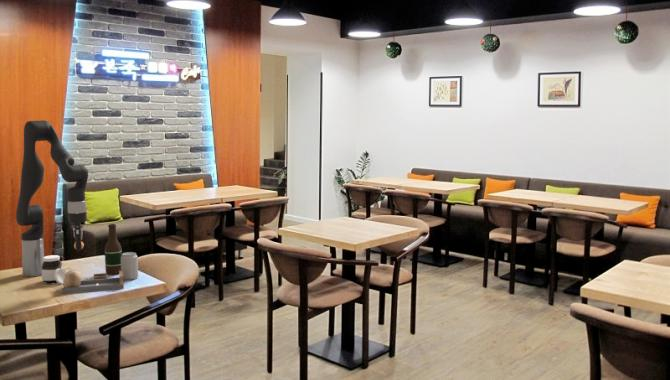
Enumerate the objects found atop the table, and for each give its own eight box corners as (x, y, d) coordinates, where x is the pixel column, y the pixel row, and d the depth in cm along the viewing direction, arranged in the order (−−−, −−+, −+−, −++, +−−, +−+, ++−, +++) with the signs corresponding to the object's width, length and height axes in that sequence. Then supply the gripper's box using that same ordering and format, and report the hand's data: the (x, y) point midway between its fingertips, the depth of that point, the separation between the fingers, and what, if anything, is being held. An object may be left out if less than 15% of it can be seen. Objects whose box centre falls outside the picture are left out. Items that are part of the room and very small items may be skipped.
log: (63, 291, 269) (62, 275, 268) (65, 286, 277) (64, 270, 276) (81, 289, 271) (80, 274, 270) (82, 284, 279) (81, 269, 278)
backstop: (119, 288, 275) (119, 276, 275) (119, 282, 286) (119, 270, 285) (123, 288, 276) (123, 276, 275) (123, 281, 286) (122, 269, 285)
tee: (93, 283, 283) (92, 277, 282) (93, 280, 288) (93, 274, 288) (107, 282, 285) (106, 276, 284) (107, 279, 290) (107, 273, 290)
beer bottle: (126, 272, 302) (124, 223, 299) (112, 276, 296) (110, 226, 293) (115, 270, 307) (113, 222, 304) (102, 273, 300) (99, 224, 297)
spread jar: (48, 279, 291) (46, 254, 289) (73, 278, 292) (71, 254, 291) (38, 286, 279) (37, 260, 278) (64, 285, 280) (63, 260, 279)
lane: (62, 293, 268) (61, 288, 267) (64, 286, 278) (63, 282, 278) (119, 288, 275) (119, 283, 275) (119, 282, 286) (119, 277, 285)
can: (133, 280, 288) (132, 255, 286) (118, 280, 289) (117, 254, 288) (141, 276, 295) (140, 251, 294) (126, 275, 297) (125, 251, 295)
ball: (84, 250, 273) (83, 241, 272) (74, 251, 271) (73, 242, 271) (84, 248, 277) (83, 239, 276) (74, 249, 275) (73, 240, 275)
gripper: (68, 209, 277) (70, 247, 279) (66, 214, 264) (69, 254, 266) (86, 208, 280) (88, 246, 282) (86, 213, 266) (87, 252, 269)
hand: (79, 249), depth 274 cm, fingers closed on ball, 4 cm apart
